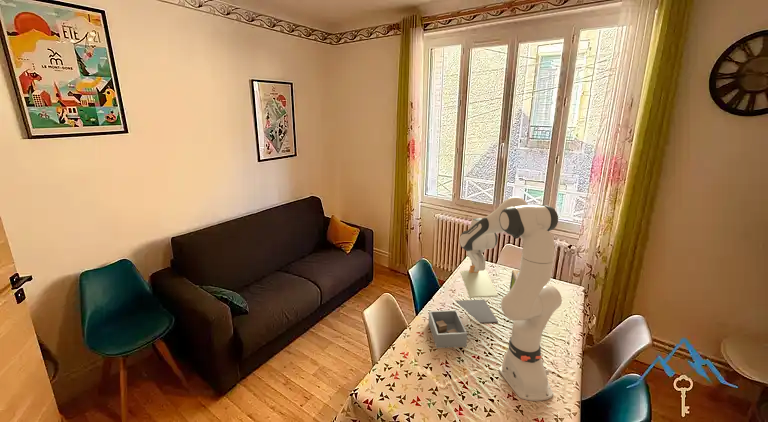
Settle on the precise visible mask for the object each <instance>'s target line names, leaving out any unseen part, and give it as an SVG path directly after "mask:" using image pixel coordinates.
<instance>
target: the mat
mask: <svg viewBox="0 0 768 422" xmlns="http://www.w3.org/2000/svg"><path fill="white" fill-rule="evenodd" d="M456 303H457V304H458V305H459V306H460V307H461V308H462V309H463V310H465V312H467V313H468V314H469V315H470V316H471V317H472V318H474V319H475V320H476V321H477V322H478V323H479V324H493V323H494V324H495V323H499V320H498V319H497V317H496V315H495V314H494V313H493V311H492V309H491V308H490V306H489V305H488V303H487V302H486V300H485V299H467V300H464V299H463V300H456Z"/></svg>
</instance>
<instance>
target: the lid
mask: <svg viewBox="0 0 768 422" xmlns="http://www.w3.org/2000/svg"><path fill="white" fill-rule="evenodd" d="M474 268H475V265H474V266H472V265H470V266H469V270H460V272H459V273H460V276H461V278H462V281H463V283H464V284H463V285H464V286H465V289H466V291H467V294H468V297H469V298H471V299H474V298H477V299H478V298H496V297H497V298H498V297H499V294H498V292H497V290H496V287H495V285H494V283H493V282H492V281H493V280H492V279H491V277H490V275H489V273H488V271H487V269H485V270H484V271H478V272H474Z"/></svg>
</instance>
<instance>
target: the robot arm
mask: <svg viewBox="0 0 768 422" xmlns="http://www.w3.org/2000/svg"><path fill="white" fill-rule="evenodd" d="M558 223H559V215H558V213H557V211H556V209H555V207H553V206H551V205H545V204H532V205H531V204H528V203H527V201H526V200H525V199H524V198H522V197H520V196H515V195H514V196H510V197H509V198H506V200H504V201H503V202H501V204H500V205H499V206H497V208H496V209H495V210H493V211H492V212H491V213H490V214H487V215H486V216H485V217H483V218H482V217H479V218H478V217H477V218H473V219H472V220H471V223H470V227H469V229H468V230H464V231H462V232H461V234H460V236H459V241H458V242H459V245H460V248H462V249H463V250H464V251H466V255H467V257H468V258H469V260H470V263H471V266H474V265H475V268H474V272H478V271H484V270H486V257H485V255H484V254H483V253H485V252H486V250H491V249H495V248H496V246H497V244H498V242H499V241H498V240H499V237H498V233H505V234H507V235H510V236H511V237H512V238H514V239H518V238H521V239H522V250H521V257H520V263H519V269H518V270H519V274H518V277H517V279H516V281H515V283H514V285H513V287H512V288H511V290H510V289H509V290H510V291H508V292H507V294H505V295H504V296H503V297H502V298H501V302H500V303H501V304H500V307H501V311H502V312H503V314H504V316H505V317H506V318H507V319H508V320H510V321H513V324H512V328H511V335H510V338H509V340H508V349H507V350H506V352H505V354H504V357H503V360H502V363H501V365H500V366H499V368H498V372H499V374H500V375H501V376H502V378H503V379H504V380H505V381H506V382H507V383H508V385H509V386H510V387H511V389H512V391H514V393H515V394H516V395H517V397H518V398H519V399H522V400H526V401H533V402H534V401H537V402H538V401H546V400H549V399H551V398H553V396H554V392H553V389H552V387H551V385H550V383H549V379H548V376H549V374H550V371H549V369H548V368H545V365H544V359H542V358H543V355H542V347H541V341H542V337H543V332H544V330H545V327H546V326H547V324H548V323H549V320H550V319H551V317H552V316H553V314H554V313H555V312H556V311H557V310H558V309H559V308H560V307H561V305H562V302H563V300H562V295H561V293H560V291H559V290H558V288H556V287H555V286H554V285H550V284H548V283H549V282H550V280H551V278H552V273H553V266H554V258H555V239H554V235H553V234H552V232H551V231H553V230H554V229H556V228H557V225H558Z"/></svg>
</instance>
